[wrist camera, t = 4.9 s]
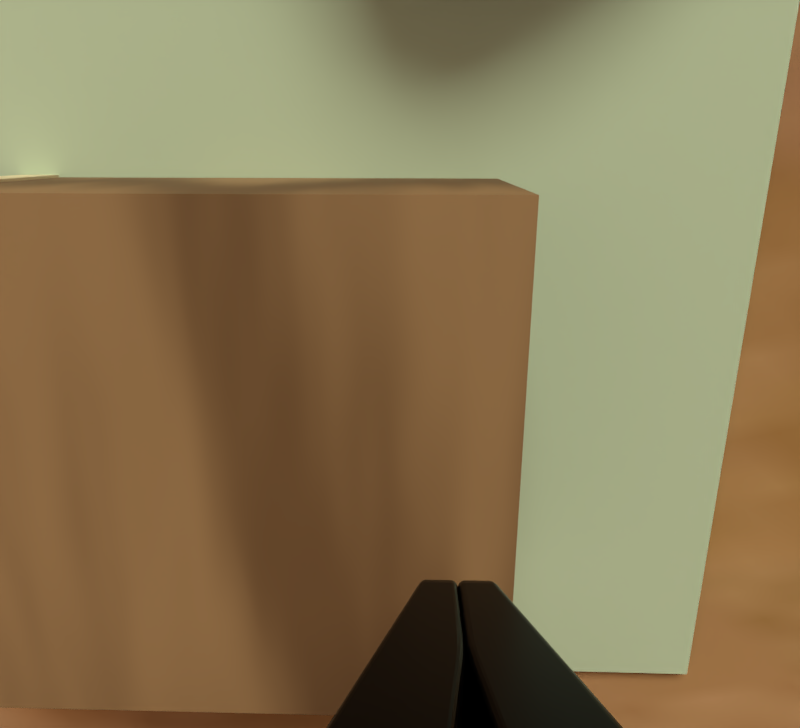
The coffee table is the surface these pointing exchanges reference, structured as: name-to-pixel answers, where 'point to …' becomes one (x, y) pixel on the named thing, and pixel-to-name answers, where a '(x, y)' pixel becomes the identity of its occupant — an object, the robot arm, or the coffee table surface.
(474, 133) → the mat
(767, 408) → the coffee table surface
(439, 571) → the walnut block
